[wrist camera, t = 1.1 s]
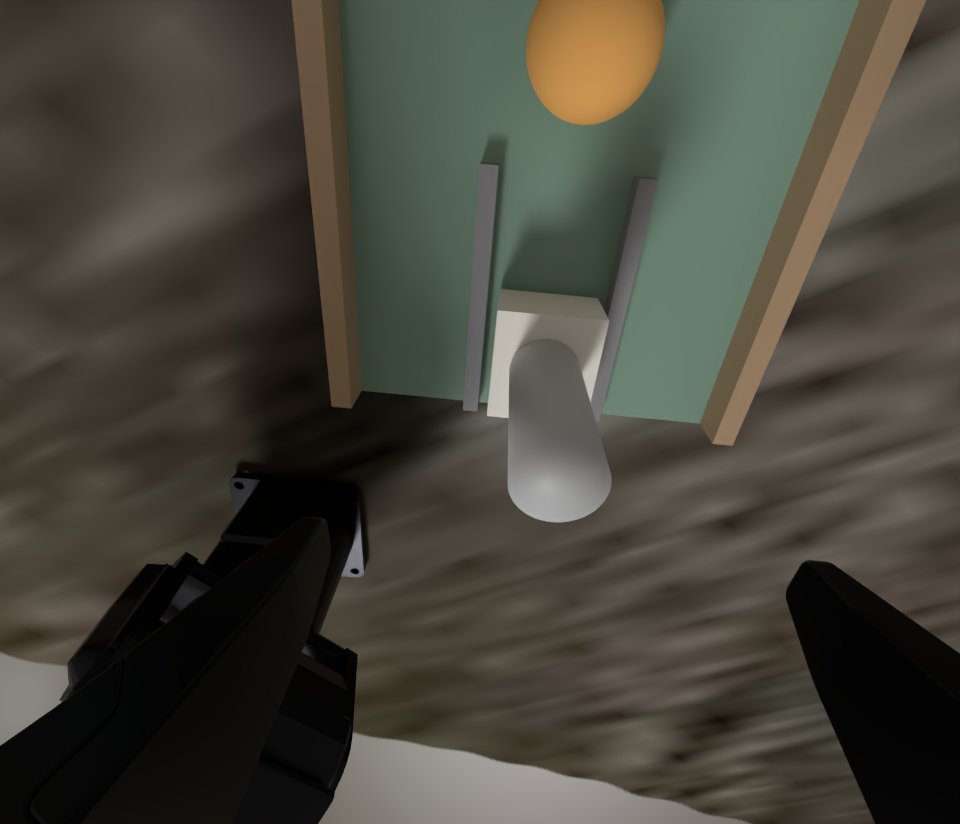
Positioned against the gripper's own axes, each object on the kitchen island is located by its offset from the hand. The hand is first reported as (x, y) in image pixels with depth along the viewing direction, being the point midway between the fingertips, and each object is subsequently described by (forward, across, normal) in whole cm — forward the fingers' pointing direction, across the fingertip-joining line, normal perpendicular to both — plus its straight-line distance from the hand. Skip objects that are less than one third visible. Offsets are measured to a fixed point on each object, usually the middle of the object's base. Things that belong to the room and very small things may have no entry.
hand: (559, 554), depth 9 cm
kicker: (+11, 0, 0) cm, 11 cm away
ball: (+9, 0, -9) cm, 13 cm away
